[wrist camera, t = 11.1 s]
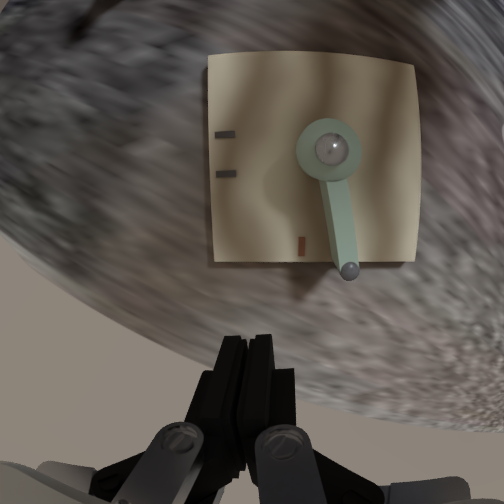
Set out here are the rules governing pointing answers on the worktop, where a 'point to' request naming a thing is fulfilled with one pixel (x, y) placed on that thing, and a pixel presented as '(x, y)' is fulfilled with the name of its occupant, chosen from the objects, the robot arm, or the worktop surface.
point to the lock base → (284, 161)
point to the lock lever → (334, 184)
